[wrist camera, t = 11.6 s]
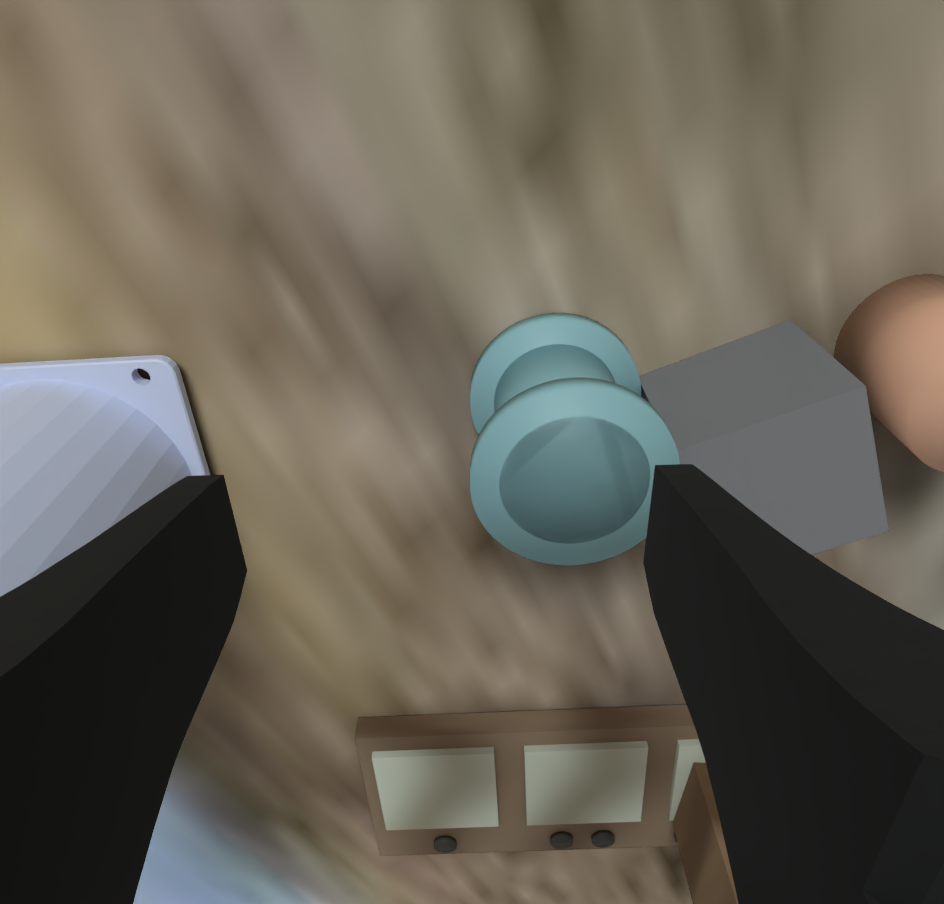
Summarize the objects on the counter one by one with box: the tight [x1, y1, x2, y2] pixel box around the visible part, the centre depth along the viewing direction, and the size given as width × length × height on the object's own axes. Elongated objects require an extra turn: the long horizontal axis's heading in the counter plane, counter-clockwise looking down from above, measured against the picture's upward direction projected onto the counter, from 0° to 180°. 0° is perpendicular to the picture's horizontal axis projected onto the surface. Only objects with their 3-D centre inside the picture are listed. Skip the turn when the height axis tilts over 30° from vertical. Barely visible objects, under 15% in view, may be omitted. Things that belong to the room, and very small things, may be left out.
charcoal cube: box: [639, 320, 889, 555], centre depth 20 cm, size 4×4×4 cm
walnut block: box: [673, 762, 738, 904], centre depth 26 cm, size 4×4×6 cm
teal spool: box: [470, 313, 680, 565], centre depth 19 cm, size 5×5×5 cm
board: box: [355, 705, 706, 856], centre depth 30 cm, size 18×8×1 cm, turn 93°
